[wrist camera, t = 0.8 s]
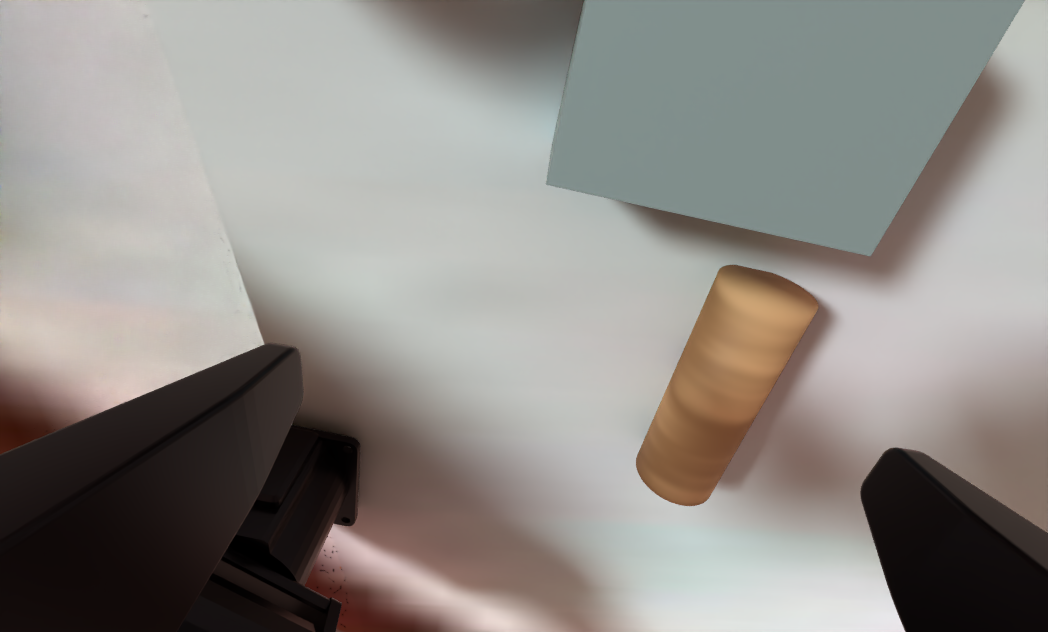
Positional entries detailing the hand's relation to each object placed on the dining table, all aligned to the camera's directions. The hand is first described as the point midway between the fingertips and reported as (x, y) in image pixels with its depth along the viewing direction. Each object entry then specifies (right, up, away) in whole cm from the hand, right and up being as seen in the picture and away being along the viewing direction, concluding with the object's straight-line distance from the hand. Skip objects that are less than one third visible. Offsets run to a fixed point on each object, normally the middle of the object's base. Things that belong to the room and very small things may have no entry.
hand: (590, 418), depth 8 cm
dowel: (+7, -1, +15) cm, 17 cm away
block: (+5, +10, +9) cm, 14 cm away
